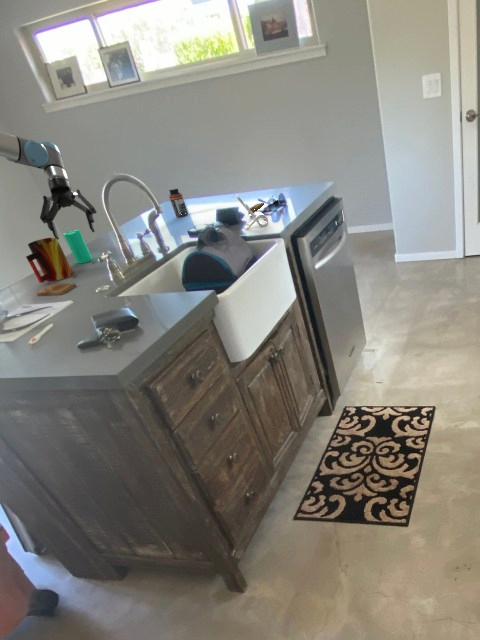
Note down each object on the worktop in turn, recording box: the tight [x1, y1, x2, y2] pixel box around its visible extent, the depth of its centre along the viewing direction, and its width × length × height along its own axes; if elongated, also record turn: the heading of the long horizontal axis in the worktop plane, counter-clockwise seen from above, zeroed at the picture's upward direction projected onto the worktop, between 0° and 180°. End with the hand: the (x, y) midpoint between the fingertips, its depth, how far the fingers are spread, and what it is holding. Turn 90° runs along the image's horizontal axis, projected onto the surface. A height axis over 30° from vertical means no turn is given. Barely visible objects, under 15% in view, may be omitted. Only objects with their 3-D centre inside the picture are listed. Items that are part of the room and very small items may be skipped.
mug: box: [25, 236, 75, 284], centre depth 186 cm, size 10×14×12 cm
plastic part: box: [235, 194, 269, 231], centre depth 211 cm, size 8×10×12 cm
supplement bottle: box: [168, 187, 189, 218], centre depth 245 cm, size 6×6×11 cm
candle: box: [63, 229, 93, 264], centre depth 201 cm, size 6×6×12 cm
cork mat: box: [36, 282, 77, 297], centre depth 177 cm, size 10×8×1 cm
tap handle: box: [247, 195, 274, 218], centre depth 237 cm, size 3×3×30 cm
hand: (74, 233), depth 201 cm, fingers open, 13 cm apart
